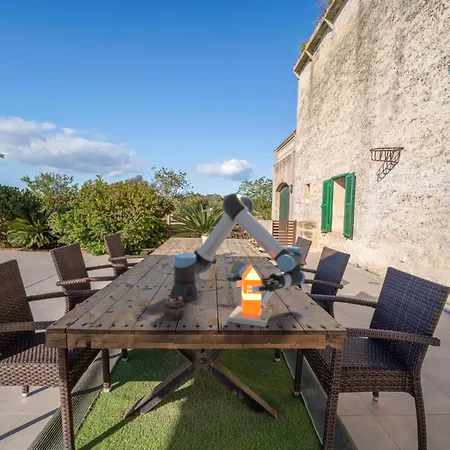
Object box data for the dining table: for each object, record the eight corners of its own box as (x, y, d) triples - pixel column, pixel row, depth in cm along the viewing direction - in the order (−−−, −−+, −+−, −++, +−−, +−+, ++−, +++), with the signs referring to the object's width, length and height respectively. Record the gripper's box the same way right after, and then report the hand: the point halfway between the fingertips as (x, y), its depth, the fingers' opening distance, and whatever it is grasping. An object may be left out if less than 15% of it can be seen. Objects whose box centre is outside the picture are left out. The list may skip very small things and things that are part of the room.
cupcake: (189, 317, 129) (190, 294, 129) (172, 322, 122) (172, 299, 122) (175, 311, 136) (176, 290, 135) (158, 316, 129) (158, 294, 128)
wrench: (252, 308, 144) (252, 306, 144) (262, 291, 175) (263, 290, 175) (269, 310, 142) (269, 308, 142) (277, 293, 172) (277, 291, 172)
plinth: (228, 321, 125) (228, 307, 125) (237, 309, 140) (238, 297, 140) (265, 326, 120) (266, 312, 120) (271, 314, 135) (271, 301, 135)
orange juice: (257, 307, 135) (259, 263, 134) (260, 313, 126) (262, 267, 125) (241, 306, 134) (242, 263, 133) (242, 313, 125) (243, 267, 125)
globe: (246, 258, 201) (248, 256, 216) (225, 264, 204) (229, 261, 218) (252, 277, 201) (253, 273, 215) (231, 282, 203) (233, 278, 218)
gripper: (298, 294, 131) (262, 302, 118) (262, 283, 150) (228, 289, 136) (298, 277, 131) (262, 283, 118) (262, 268, 149) (228, 273, 136)
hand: (244, 286), depth 127 cm, fingers closed on orange juice, 10 cm apart
